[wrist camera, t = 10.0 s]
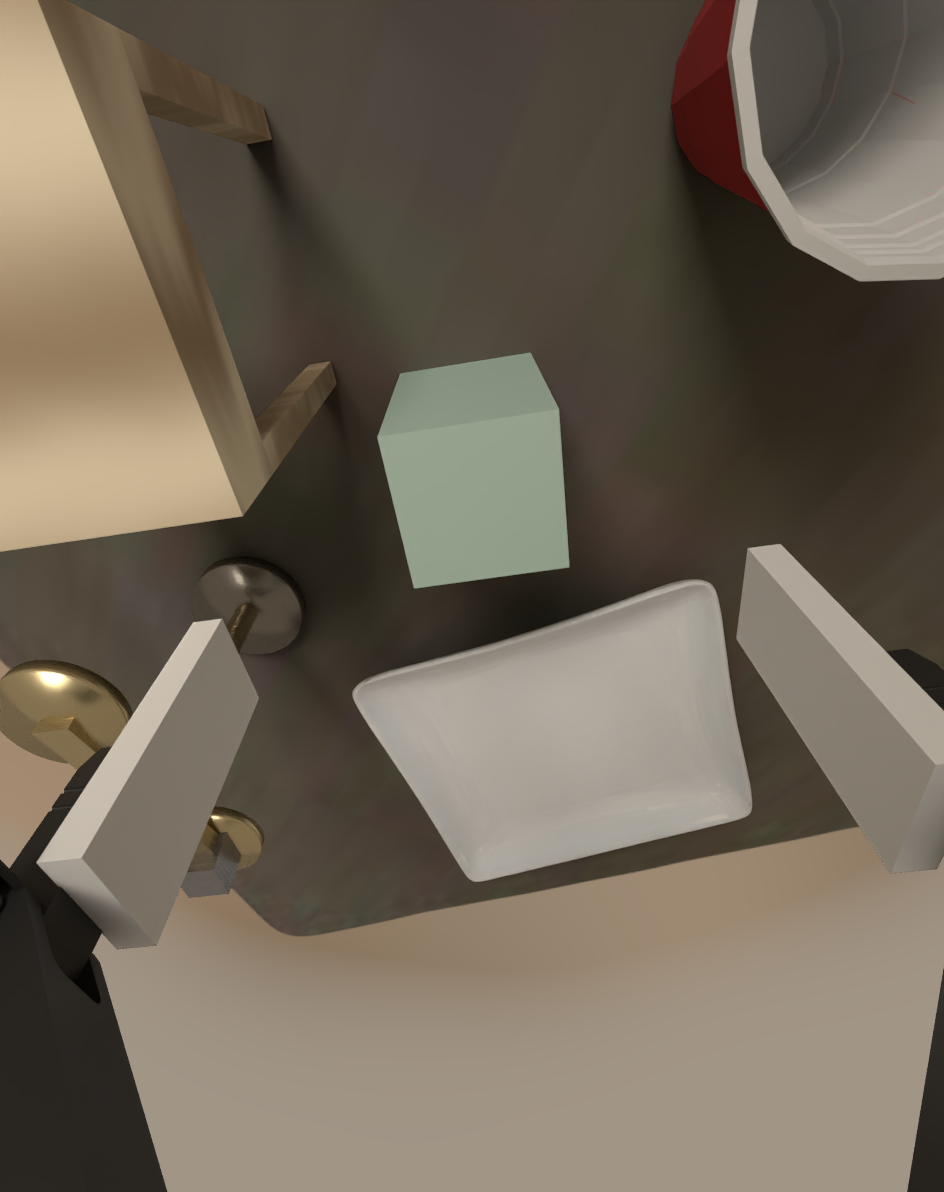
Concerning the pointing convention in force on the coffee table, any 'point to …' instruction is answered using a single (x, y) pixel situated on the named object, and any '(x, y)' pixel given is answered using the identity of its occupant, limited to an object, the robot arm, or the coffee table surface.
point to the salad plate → (571, 734)
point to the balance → (100, 711)
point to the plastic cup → (825, 124)
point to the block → (476, 471)
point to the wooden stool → (115, 296)
